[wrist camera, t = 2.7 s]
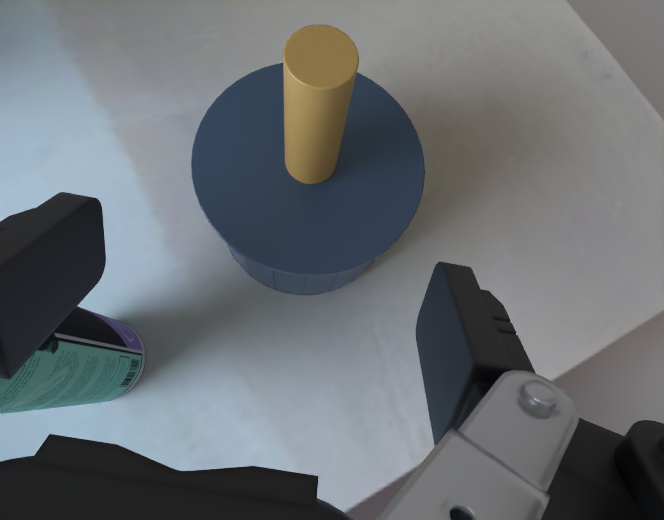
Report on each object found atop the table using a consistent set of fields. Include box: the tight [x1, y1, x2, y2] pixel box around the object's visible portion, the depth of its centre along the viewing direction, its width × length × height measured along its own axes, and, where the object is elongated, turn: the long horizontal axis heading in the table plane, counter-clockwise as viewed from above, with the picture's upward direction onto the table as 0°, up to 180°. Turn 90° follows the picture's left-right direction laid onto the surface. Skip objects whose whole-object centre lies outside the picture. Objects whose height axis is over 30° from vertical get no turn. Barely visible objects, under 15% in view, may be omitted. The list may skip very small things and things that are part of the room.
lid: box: [191, 25, 425, 277], centre depth 23 cm, size 14×14×10 cm
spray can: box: [0, 306, 146, 414], centre depth 22 cm, size 6×6×20 cm
